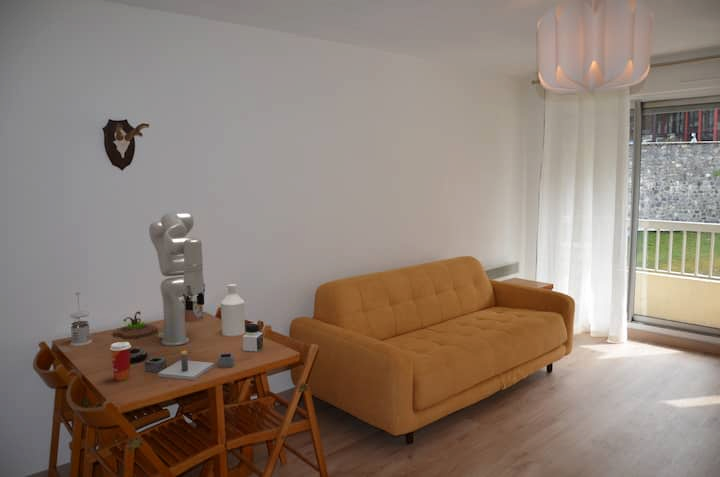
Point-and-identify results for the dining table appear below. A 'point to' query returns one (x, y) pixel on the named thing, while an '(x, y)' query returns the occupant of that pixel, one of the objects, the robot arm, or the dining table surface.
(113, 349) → the paper cup
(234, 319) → the bottle
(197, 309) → the canned food
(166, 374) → the keeper
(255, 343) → the medicine bottle
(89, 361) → the dining table surface
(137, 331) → the plant
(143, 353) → the black ashtray
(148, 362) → the link
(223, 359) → the link
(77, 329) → the french press
